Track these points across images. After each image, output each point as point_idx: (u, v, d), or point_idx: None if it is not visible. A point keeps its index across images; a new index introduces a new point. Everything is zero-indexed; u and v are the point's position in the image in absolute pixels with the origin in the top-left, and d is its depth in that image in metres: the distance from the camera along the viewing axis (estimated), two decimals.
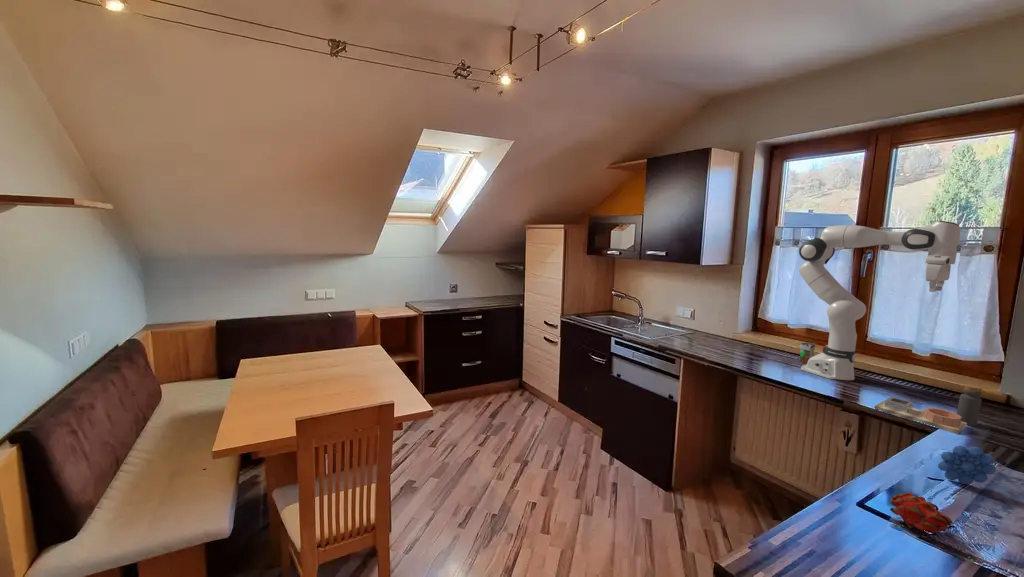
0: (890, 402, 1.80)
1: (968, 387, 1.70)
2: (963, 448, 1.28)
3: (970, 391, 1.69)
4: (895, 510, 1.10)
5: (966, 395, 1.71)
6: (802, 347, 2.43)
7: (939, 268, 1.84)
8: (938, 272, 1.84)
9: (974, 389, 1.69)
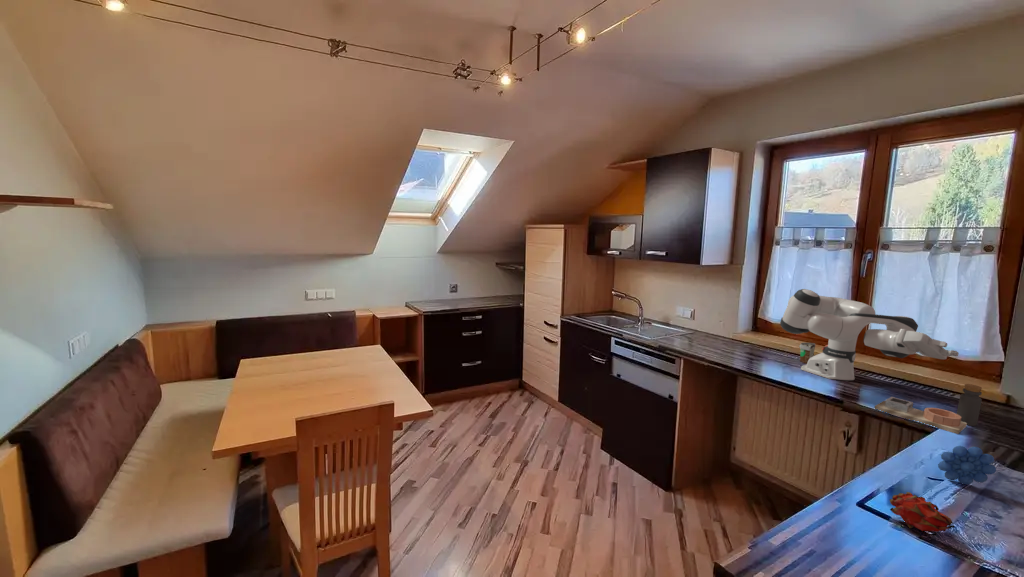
0: (890, 402, 1.80)
1: (968, 387, 1.70)
2: (963, 448, 1.28)
3: (970, 391, 1.69)
4: (895, 510, 1.10)
5: (966, 395, 1.71)
6: (802, 347, 2.43)
7: (908, 331, 1.78)
8: (913, 332, 1.76)
9: (974, 389, 1.69)
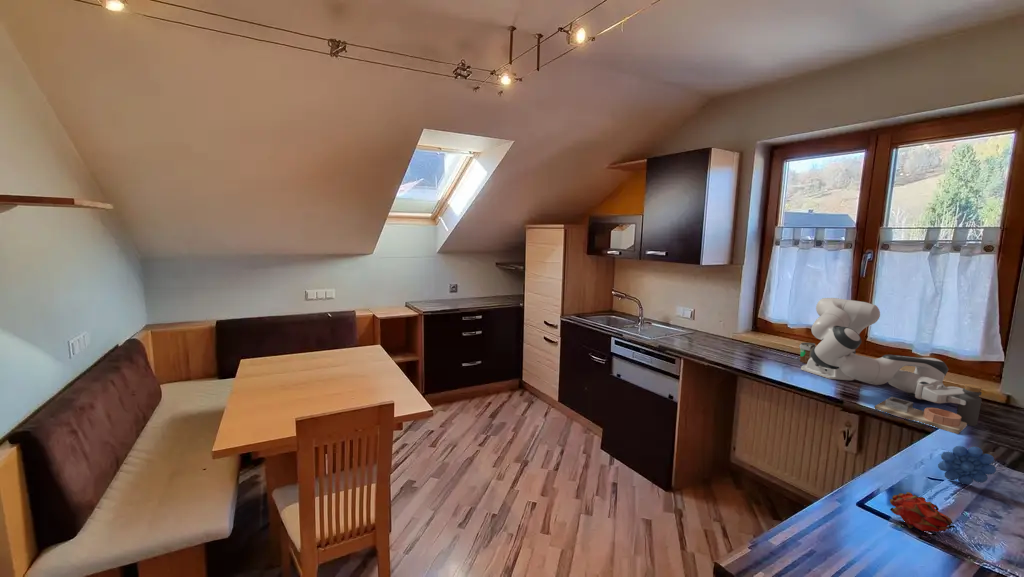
0: (890, 402, 1.80)
1: (968, 387, 1.70)
2: (963, 448, 1.28)
3: (970, 391, 1.69)
4: (895, 510, 1.10)
5: (966, 395, 1.71)
6: (802, 347, 2.43)
7: (925, 389, 1.78)
8: (929, 391, 1.76)
9: (974, 389, 1.69)
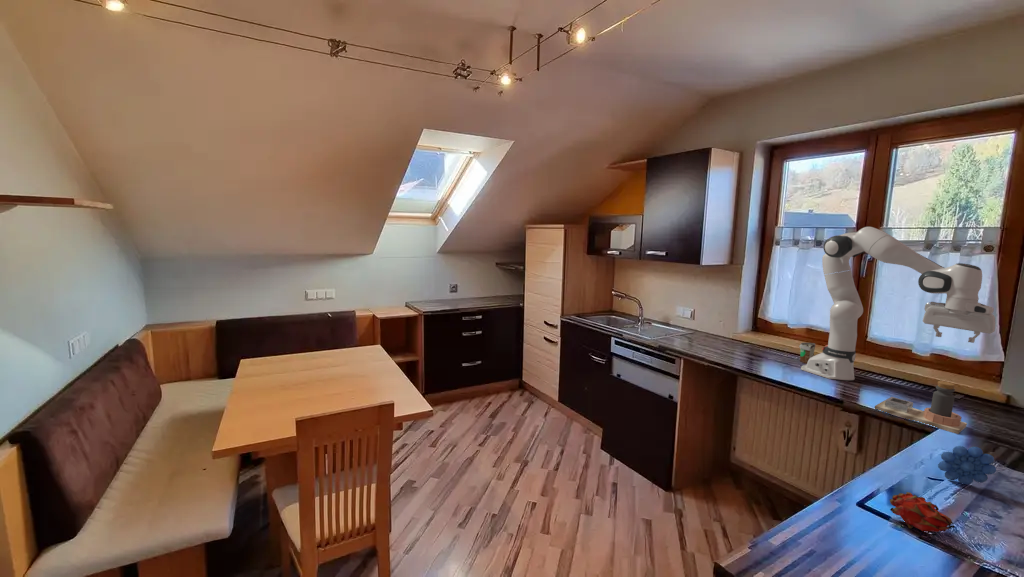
0: (890, 402, 1.80)
1: (940, 384, 1.68)
2: (963, 448, 1.28)
3: (941, 388, 1.68)
4: (895, 510, 1.10)
5: (938, 392, 1.69)
6: (802, 347, 2.43)
7: (994, 318, 1.68)
8: None
9: (945, 386, 1.67)
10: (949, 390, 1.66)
